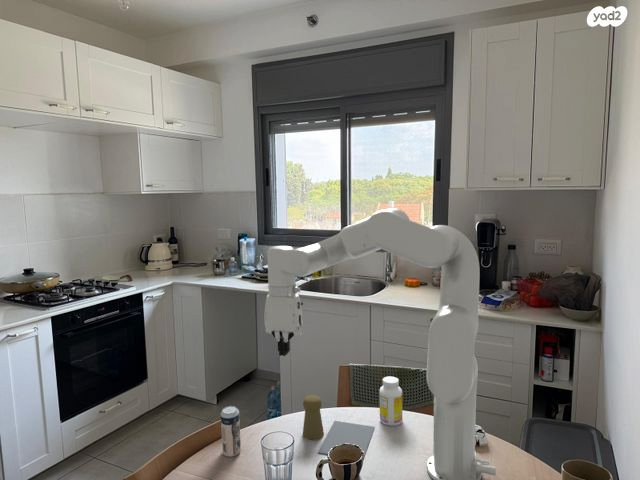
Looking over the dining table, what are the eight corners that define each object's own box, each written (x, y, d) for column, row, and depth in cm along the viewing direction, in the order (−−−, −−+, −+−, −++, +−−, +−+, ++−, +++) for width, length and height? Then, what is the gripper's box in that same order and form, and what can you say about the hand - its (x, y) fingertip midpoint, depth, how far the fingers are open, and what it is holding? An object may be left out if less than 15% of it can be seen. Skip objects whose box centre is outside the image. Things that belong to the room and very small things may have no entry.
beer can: (239, 457, 111) (237, 413, 110) (221, 458, 111) (219, 415, 110) (242, 446, 116) (240, 404, 115) (224, 447, 116) (222, 405, 114)
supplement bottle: (402, 416, 130) (402, 375, 128) (402, 428, 123) (401, 385, 122) (380, 414, 131) (380, 373, 130) (378, 425, 125) (378, 383, 123)
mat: (374, 427, 124) (374, 426, 124) (362, 461, 109) (362, 460, 109) (334, 421, 128) (334, 420, 127) (317, 453, 112) (317, 452, 112)
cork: (321, 441, 118) (320, 403, 116) (300, 439, 119) (299, 401, 118) (325, 429, 124) (324, 393, 122) (305, 427, 125) (304, 391, 123)
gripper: (312, 289, 120) (313, 351, 122) (263, 286, 125) (265, 346, 127) (302, 295, 113) (304, 362, 115) (251, 292, 118) (254, 356, 120)
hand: (284, 353), depth 121 cm, fingers closed
